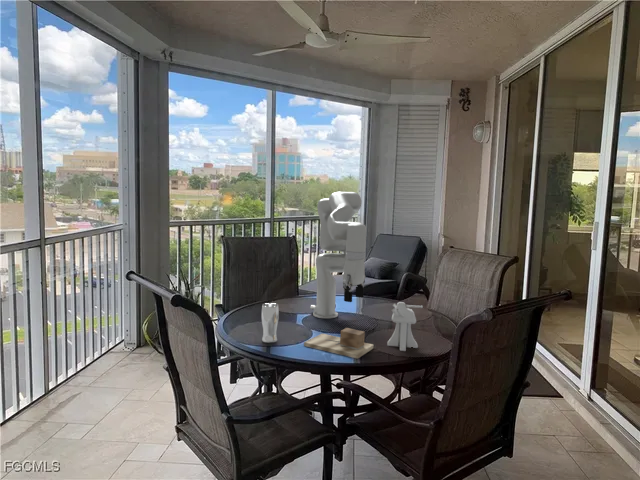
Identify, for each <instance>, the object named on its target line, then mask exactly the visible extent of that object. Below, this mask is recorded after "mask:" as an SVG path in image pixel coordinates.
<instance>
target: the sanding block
mask: <svg viewBox="0 0 640 480" xmlns="http://www.w3.org/2000/svg"><path fill="white" fill-rule="evenodd" d="M339 337H340V346H344V347H348V348H352V349H356V350H359V349H361V348H362V347H364V343H365V337H366V332H365V331H363V330H360V329H355V328H349V327H345V328H344V329H341V330H340V336H339Z"/></svg>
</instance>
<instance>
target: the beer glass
mask: <svg viewBox="0 0 640 480" xmlns="http://www.w3.org/2000/svg"><path fill="white" fill-rule="evenodd" d="M279 314H280V312H279V303H275V302H268V303H267V302H266V303H262V306H261V324H262V330H263V331H262V332H263V333H262V334H263V335H262V338H261V340H262V342H263V343H267V344H272V343H273V344H274V343H276V342H277V341H278V338H277V328H278V323H279V316H280V315H279Z"/></svg>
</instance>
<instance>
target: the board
mask: <svg viewBox="0 0 640 480" xmlns="http://www.w3.org/2000/svg"><path fill="white" fill-rule="evenodd" d="M303 347H308V348H311V349H316V350H319V351H325V352H329V353H333V354H337V355H339V356H340V355H341V356H345V357H348V358H352V359H359V358H361V357H362V356H364V355H366V354H367V353H369V352H370V351H372V350H373V349H374V348H375V347H374V344H373V343H367V342H364V347H362V348H361V349H359V350H356V349H352V348H348V347H344V346H340V336H336V335H330V334H327V333H320V334H318V335H316V336H314V337H312V338H310V339H308V340H306V341H304V342H303Z"/></svg>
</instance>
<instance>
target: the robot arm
mask: <svg viewBox="0 0 640 480" xmlns="http://www.w3.org/2000/svg"><path fill="white" fill-rule="evenodd" d="M316 207H317V213H318V218H319V222H320V228H319V230H320V231H319V247H320V249H321V250H322V251H326V252H325V253H324V252H322V253H320V254H318V255H317V256H316V258H315V267H316V305H315V304H310V308H309V310H313V312H312V316H313V317H314V318H319V319H335V318H337V317H338V316H339V313H338V312H337V311H336V292H337V290H336V289H337V281H336V278H335V277H334V275H332V273H343V275H342V276H343V277H342V288H343V292H344V293H343V301H344V302H348V303H352V302H353V291H352V290H353V288H354V287H355V297H356V298H364V293H365V292H364V290H365V289H364V287H365V283H366V281H365V279H366V277H367V276H366V273H365V271H366V269H365V268H366V267H365V260H366V246H367V226H366V225H365V224H363V223H362V222H360V221H351V219H352V218H353V216H354V215H356V214H357V213H359V212H358V211H360V209H361V207H362V198H361V195H360V194H359V193H358V192H355V191H336V192H332V193H331V194H330V195H329V197H328V198H321V199H320V200H318V202H317V206H316ZM336 252H337V253H336Z"/></svg>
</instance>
